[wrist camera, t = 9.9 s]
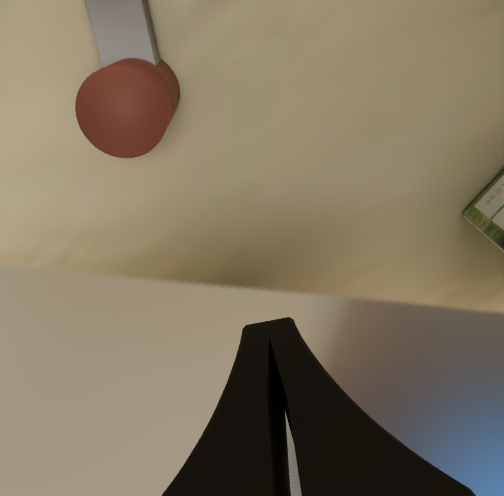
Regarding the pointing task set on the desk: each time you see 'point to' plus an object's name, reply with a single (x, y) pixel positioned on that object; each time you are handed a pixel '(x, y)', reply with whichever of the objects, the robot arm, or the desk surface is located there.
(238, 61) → the desk surface
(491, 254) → the desk surface
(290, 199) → the desk surface
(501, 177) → the syrup box
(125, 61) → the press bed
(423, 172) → the desk surface
